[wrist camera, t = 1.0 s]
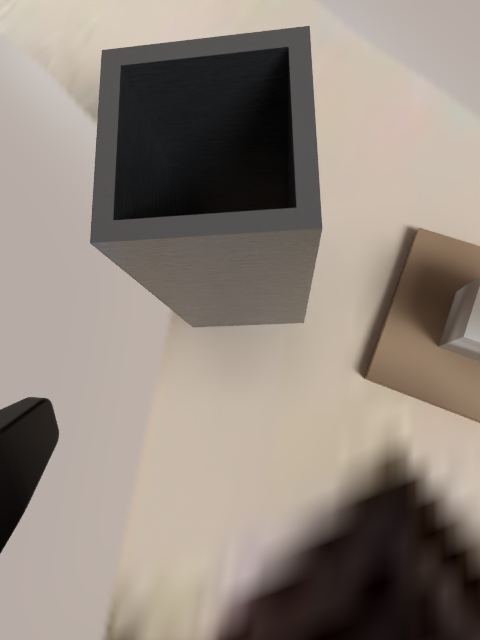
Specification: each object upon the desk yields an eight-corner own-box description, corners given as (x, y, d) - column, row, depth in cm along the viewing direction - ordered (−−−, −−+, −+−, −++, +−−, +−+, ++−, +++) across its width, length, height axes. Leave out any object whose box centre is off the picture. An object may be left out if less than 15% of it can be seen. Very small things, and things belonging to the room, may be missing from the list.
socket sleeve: (303, 322, 22) (321, 228, 10) (193, 327, 22) (90, 243, 11) (298, 218, 23) (309, 25, 11) (193, 225, 24) (101, 50, 12)
